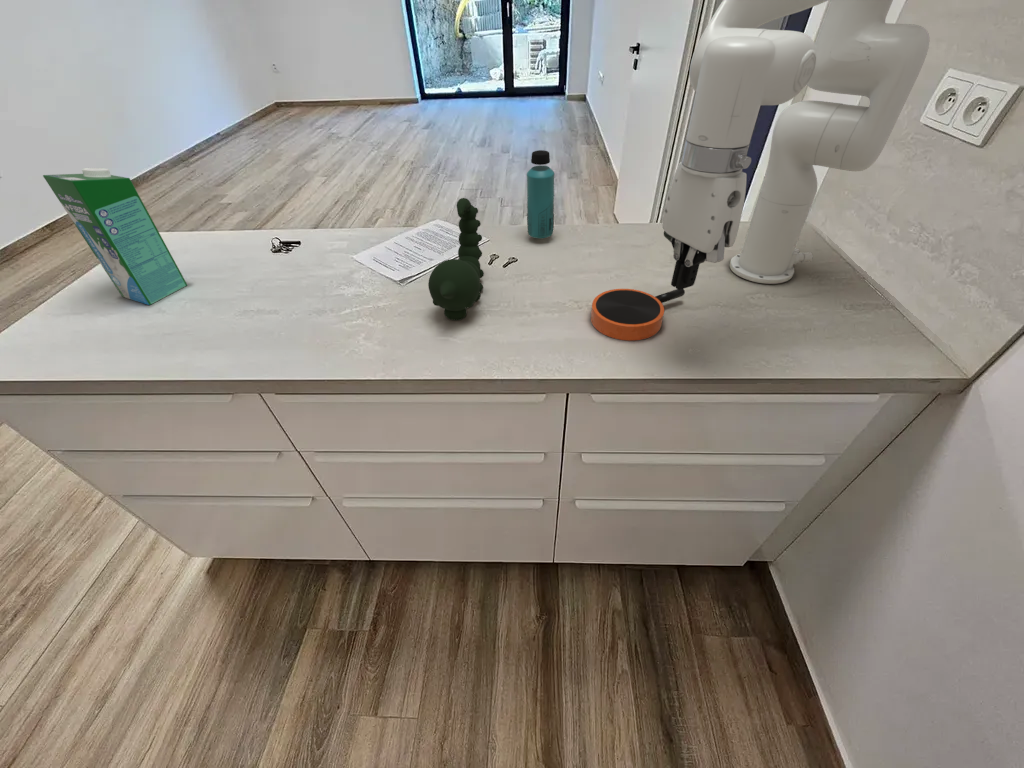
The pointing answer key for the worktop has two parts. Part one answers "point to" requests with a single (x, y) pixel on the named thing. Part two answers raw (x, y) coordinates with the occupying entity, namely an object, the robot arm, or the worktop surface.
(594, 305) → the pan
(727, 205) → the robot arm
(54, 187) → the milk carton
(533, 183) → the beverage bottle
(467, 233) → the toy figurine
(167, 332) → the worktop surface
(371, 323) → the worktop surface
